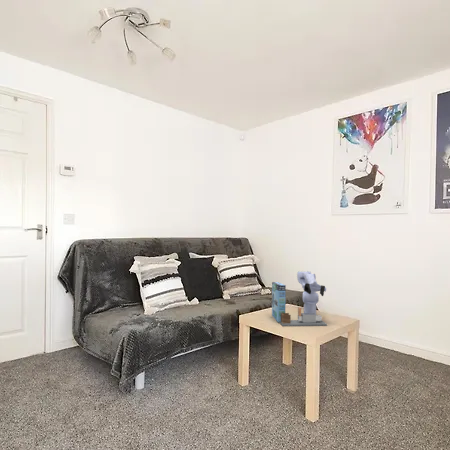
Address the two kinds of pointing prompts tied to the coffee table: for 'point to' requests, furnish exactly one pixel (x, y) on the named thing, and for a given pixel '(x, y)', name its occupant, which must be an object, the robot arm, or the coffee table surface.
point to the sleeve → (308, 318)
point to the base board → (299, 323)
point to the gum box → (278, 300)
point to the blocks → (318, 318)
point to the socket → (285, 318)
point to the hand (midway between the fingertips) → (316, 293)
